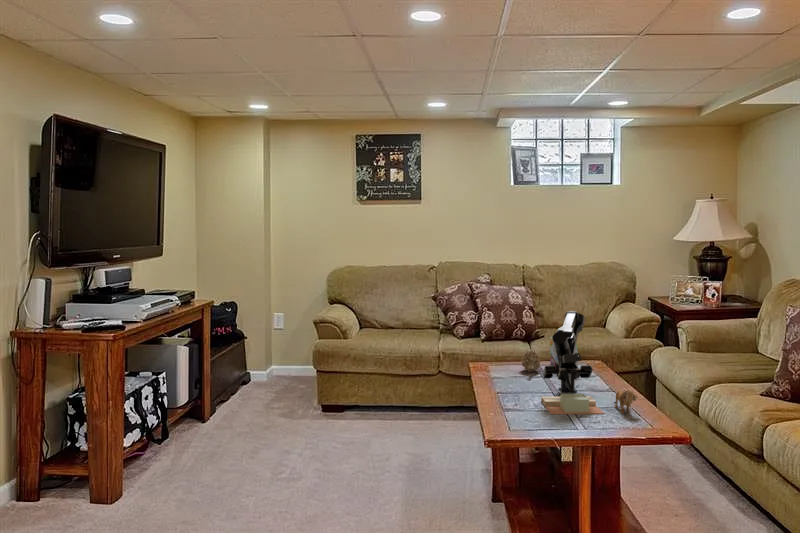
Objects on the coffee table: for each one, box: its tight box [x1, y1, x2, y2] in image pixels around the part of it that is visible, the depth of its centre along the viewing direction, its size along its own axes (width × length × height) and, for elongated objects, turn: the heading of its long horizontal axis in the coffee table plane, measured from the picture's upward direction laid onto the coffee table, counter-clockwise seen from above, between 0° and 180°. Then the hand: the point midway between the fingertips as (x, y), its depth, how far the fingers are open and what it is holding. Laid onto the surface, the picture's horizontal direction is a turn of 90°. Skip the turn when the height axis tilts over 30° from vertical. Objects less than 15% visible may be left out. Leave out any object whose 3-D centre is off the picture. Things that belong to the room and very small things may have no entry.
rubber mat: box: [545, 405, 605, 415], centre depth 236 cm, size 10×20×1 cm, turn 89°
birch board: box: [540, 395, 597, 408], centre depth 244 cm, size 7×20×2 cm, turn 89°
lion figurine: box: [613, 390, 638, 414], centre depth 235 cm, size 15×5×9 cm, turn 7°
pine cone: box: [520, 350, 541, 373], centre depth 296 cm, size 22×10×10 cm, turn 172°
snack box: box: [549, 336, 579, 369], centre depth 302 cm, size 21×6×15 cm, turn 10°
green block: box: [559, 393, 589, 412], centre depth 235 cm, size 5×9×8 cm
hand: (571, 390), depth 239 cm, fingers closed
